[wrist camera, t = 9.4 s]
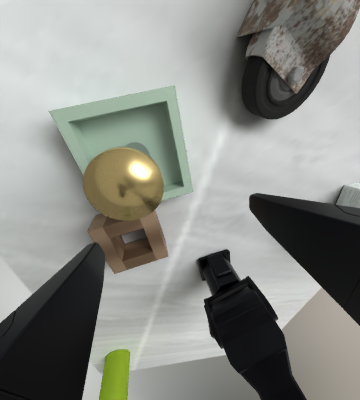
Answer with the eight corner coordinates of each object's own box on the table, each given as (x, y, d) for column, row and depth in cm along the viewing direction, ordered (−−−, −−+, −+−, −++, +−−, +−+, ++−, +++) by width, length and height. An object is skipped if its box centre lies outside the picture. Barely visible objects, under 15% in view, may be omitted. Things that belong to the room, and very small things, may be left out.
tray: (186, 183, 21) (193, 191, 19) (110, 204, 20) (105, 216, 18) (169, 91, 16) (174, 85, 14) (65, 113, 15) (48, 111, 12)
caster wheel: (258, 121, 22) (207, 84, 18) (329, 21, 17) (284, -76, 12) (294, 136, 18) (238, 90, 13) (412, 2, 12) (391, -172, 7)
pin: (159, 170, 19) (171, 209, 10) (124, 178, 18) (104, 228, 9) (149, 132, 16) (152, 139, 8) (109, 141, 16) (65, 160, 7)
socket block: (165, 240, 25) (168, 256, 22) (118, 255, 24) (114, 273, 21) (151, 200, 21) (153, 212, 18) (95, 215, 21) (87, 231, 17)
